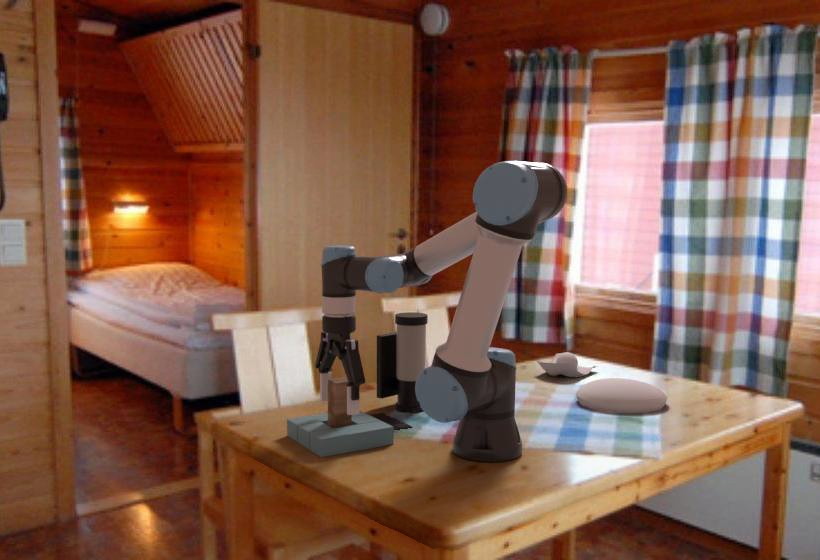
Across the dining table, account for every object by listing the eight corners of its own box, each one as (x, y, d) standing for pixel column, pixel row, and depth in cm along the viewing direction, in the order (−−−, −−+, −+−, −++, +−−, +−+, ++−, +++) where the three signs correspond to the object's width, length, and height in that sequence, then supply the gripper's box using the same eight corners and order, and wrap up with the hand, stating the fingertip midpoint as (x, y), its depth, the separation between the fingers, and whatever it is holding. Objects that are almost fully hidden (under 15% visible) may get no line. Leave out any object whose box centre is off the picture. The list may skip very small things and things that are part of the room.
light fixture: (405, 416, 212) (406, 319, 209) (376, 407, 220) (376, 314, 217) (438, 407, 221) (439, 314, 218) (408, 399, 228) (409, 309, 226)
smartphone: (356, 419, 211) (387, 434, 198) (356, 415, 211) (388, 430, 198) (381, 415, 215) (414, 429, 202) (381, 411, 215) (414, 425, 202)
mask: (603, 373, 262) (562, 370, 272) (602, 349, 262) (561, 347, 272) (569, 383, 247) (527, 379, 257) (568, 357, 247) (526, 355, 257)
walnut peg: (351, 441, 191) (351, 381, 190) (335, 443, 189) (335, 383, 188) (343, 436, 195) (343, 377, 193) (327, 438, 193) (327, 379, 191)
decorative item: (583, 392, 239) (569, 409, 220) (584, 368, 238) (570, 384, 220) (669, 400, 230) (662, 419, 212) (670, 376, 229) (663, 392, 211)
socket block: (393, 444, 189) (393, 426, 189) (321, 457, 180) (320, 439, 179) (355, 424, 204) (355, 408, 204) (287, 435, 195) (286, 419, 195)
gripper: (381, 320, 180) (380, 417, 183) (329, 306, 201) (329, 393, 204) (349, 323, 176) (350, 422, 179) (300, 308, 197) (301, 397, 200)
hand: (339, 407), depth 191 cm, fingers open, 13 cm apart
